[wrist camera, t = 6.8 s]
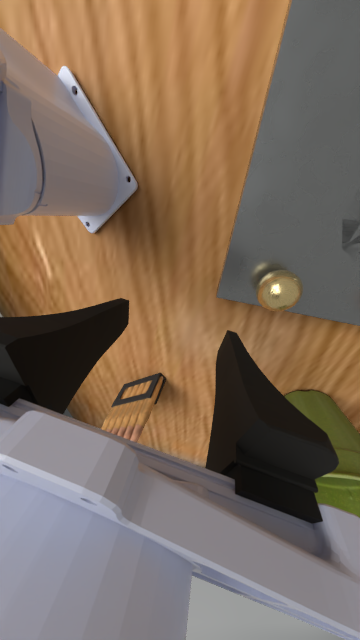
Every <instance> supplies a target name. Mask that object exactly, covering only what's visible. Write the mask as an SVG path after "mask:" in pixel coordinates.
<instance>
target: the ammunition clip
mask: <svg viewBox="0 0 360 640" xmlns="http://www.w3.org/2000/svg"><path fill="white" fill-rule="evenodd" d="M165 381H166V379H165V377H164V376H163V375H162V374H161V373H158V374H155V375H152V376H149V377H146V378H143V379H139V380H136V381H133V382H130V383H127V384H124V386H123V387H122V389H121V391H120V392H119V394H118V396H117V398H116V399H115V401H114V403H113V404H112V406H111V407H112V409H111V411H110V413H109V414H108V416H107V418H106V419H105V421H104V424H103V426H102V428H101V429H102V430H105V431H107V432H110V433H113V434H115V435H118V436H121V437H123V438H126V439H129V440H130V439H131V441H134V442H137V441H138V439H139V437H140V435H141V433H142V430H143V428H144V426H145V424H146V422H147V420H148V419H149V416H150V414H151V411H152V408H153V406H154V404H156V403H157V401H158V398H159V396H160V393H161V391H162V388H163V386H164V383H165Z"/></svg>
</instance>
